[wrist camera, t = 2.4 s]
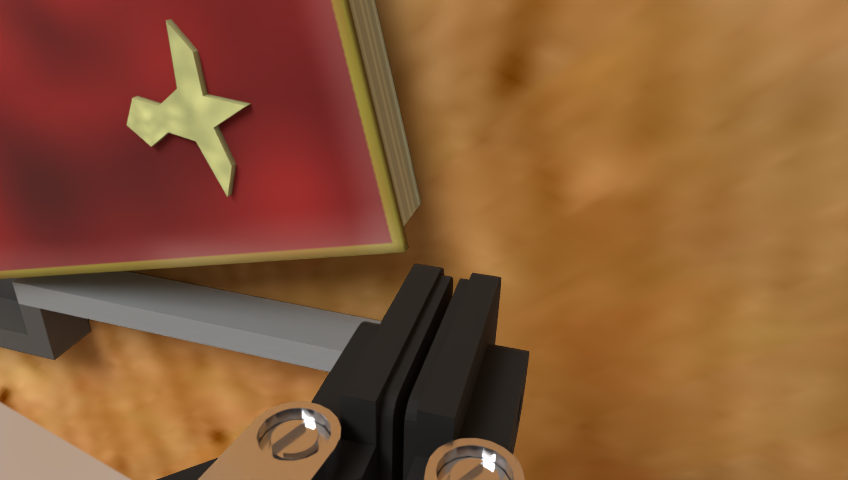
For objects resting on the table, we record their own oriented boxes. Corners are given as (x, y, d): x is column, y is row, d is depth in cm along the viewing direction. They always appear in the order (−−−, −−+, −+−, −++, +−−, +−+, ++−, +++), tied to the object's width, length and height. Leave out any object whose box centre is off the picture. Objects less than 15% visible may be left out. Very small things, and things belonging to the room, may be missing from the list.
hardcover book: (-82, -8, 29) (-186, 5, 25) (361, -135, 21) (304, -142, 18) (39, 242, 33) (-34, 283, 30) (435, 206, 26) (402, 256, 22)
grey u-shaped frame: (560, -352, 17) (550, -387, 15) (485, 419, 30) (472, 460, 27) (-291, -309, 24) (-380, -329, 22) (-68, 295, 37) (-112, 320, 35)
